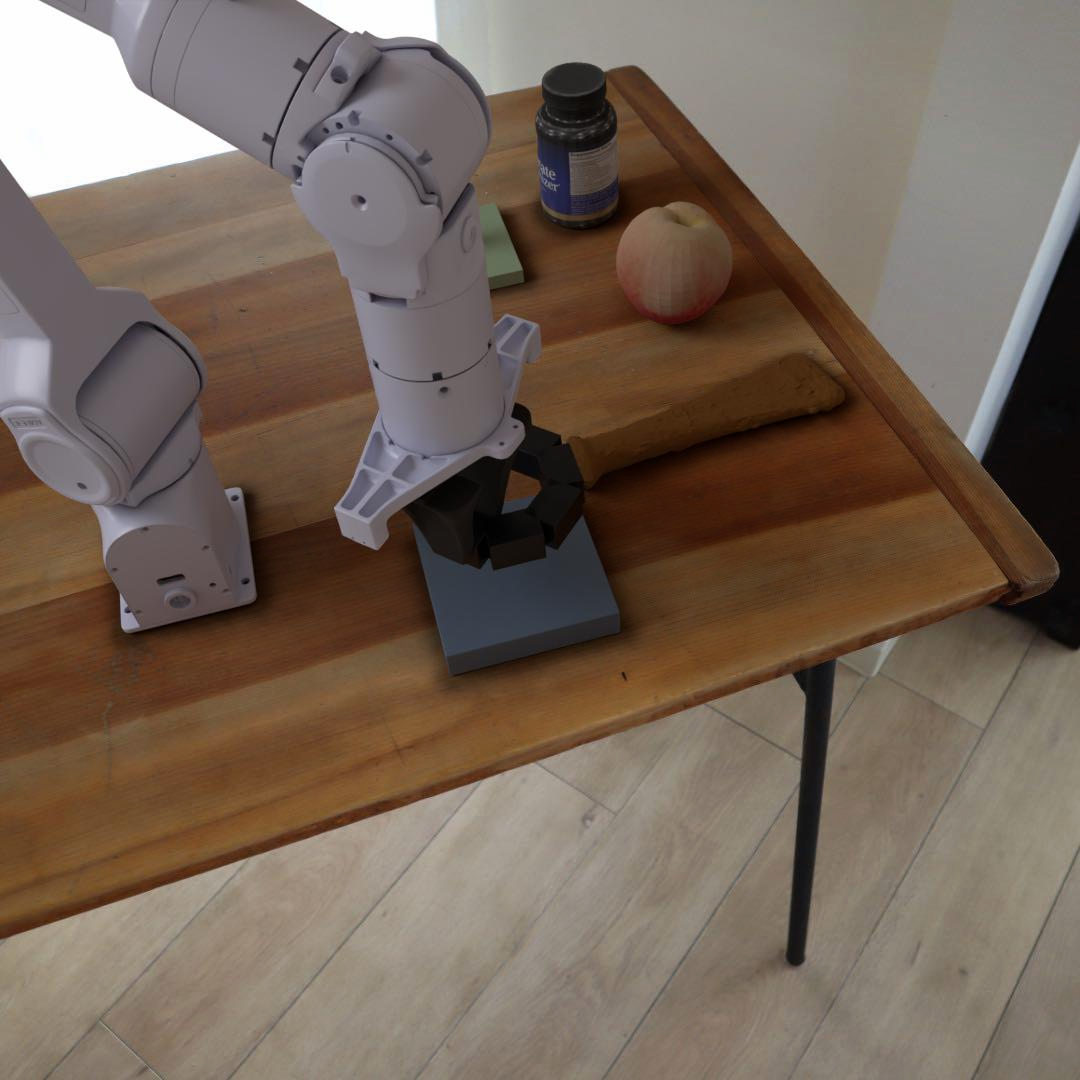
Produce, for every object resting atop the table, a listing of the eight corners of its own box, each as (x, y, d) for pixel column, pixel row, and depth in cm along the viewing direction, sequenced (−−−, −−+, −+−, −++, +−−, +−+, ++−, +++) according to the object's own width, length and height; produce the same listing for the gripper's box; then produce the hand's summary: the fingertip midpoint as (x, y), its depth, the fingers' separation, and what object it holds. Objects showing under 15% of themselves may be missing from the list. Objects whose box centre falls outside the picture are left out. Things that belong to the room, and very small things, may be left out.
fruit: (751, 320, 83) (759, 225, 77) (651, 359, 81) (651, 265, 75) (694, 260, 88) (697, 166, 82) (599, 295, 86) (594, 202, 80)
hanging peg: (524, 282, 88) (517, 212, 83) (406, 308, 87) (392, 239, 82) (496, 214, 94) (488, 145, 89) (386, 238, 93) (371, 169, 88)
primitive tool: (800, 355, 81) (806, 315, 78) (851, 403, 77) (858, 363, 75) (556, 468, 76) (552, 429, 73) (599, 523, 72) (597, 485, 70)
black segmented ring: (601, 544, 62) (599, 519, 60) (438, 585, 61) (432, 561, 59) (557, 430, 67) (555, 405, 66) (407, 466, 66) (401, 441, 65)
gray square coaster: (620, 632, 67) (620, 612, 66) (450, 676, 66) (445, 657, 65) (573, 506, 73) (571, 485, 72) (417, 545, 72) (412, 524, 71)
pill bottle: (532, 196, 95) (520, 67, 86) (604, 178, 96) (599, 48, 87) (556, 239, 91) (546, 108, 82) (630, 220, 92) (628, 89, 83)
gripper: (411, 478, 46) (454, 668, 57) (590, 267, 54) (599, 470, 64) (271, 421, 49) (337, 613, 59) (461, 228, 56) (490, 428, 67)
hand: (466, 535), depth 62 cm, fingers closed on black segmented ring, 2 cm apart
